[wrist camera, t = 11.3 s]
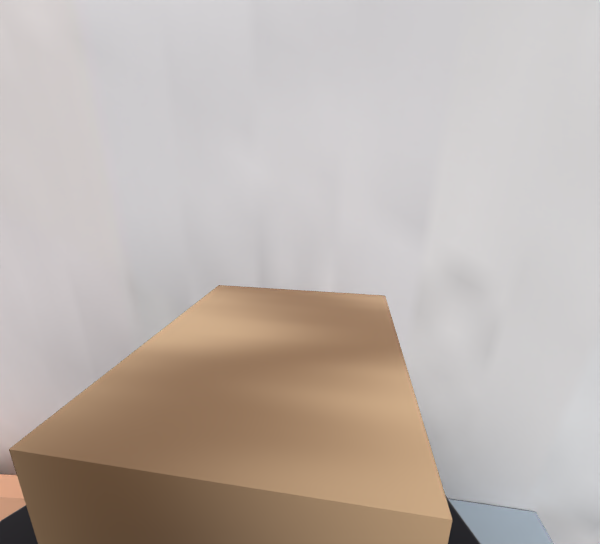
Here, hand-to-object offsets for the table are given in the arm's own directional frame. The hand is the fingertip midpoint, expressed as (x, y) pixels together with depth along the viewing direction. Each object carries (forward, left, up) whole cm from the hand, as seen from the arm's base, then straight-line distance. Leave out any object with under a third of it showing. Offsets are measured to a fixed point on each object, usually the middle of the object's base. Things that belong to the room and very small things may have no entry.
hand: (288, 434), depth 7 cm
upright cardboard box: (0, 0, -1) cm, 1 cm away
